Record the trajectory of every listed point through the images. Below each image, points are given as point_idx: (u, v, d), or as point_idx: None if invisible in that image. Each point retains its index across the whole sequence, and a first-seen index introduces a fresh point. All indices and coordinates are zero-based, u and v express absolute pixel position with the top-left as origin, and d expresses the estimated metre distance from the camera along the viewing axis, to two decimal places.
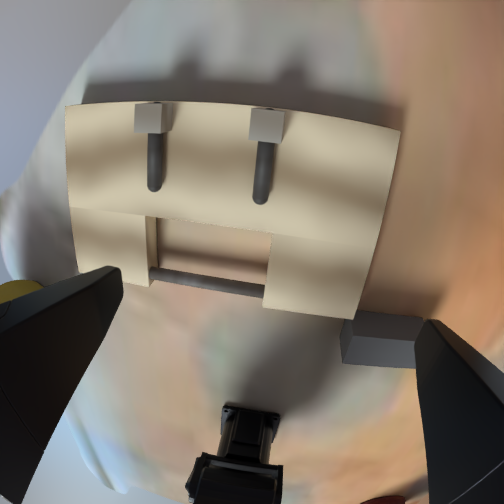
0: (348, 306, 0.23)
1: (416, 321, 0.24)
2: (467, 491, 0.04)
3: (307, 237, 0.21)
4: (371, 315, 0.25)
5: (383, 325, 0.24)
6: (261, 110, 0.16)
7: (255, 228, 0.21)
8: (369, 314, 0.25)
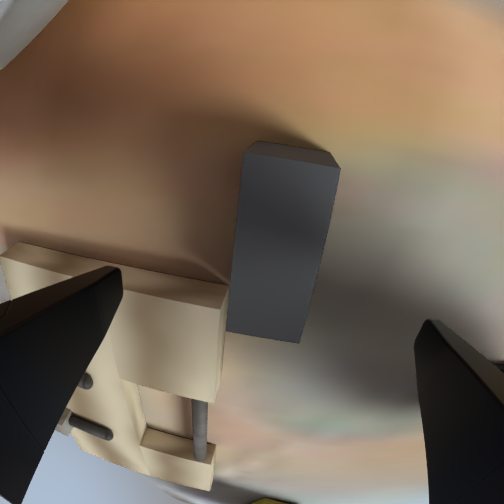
0: (195, 316, 0.14)
1: None
2: (467, 491, 0.04)
3: (112, 352, 0.17)
4: None
5: None
6: None
7: (120, 388, 0.18)
8: None
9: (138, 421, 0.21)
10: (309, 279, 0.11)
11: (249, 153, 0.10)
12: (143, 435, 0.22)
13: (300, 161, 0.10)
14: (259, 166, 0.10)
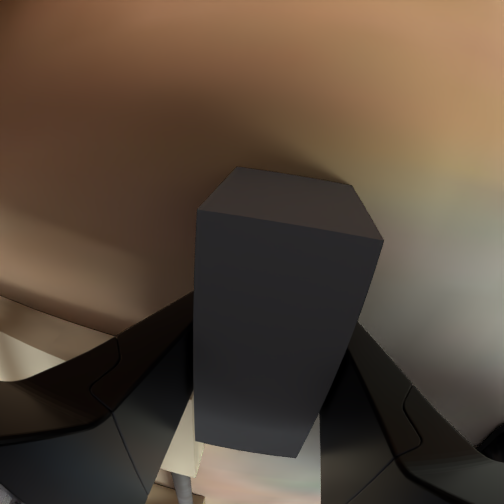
0: None
1: None
2: None
3: None
4: None
5: None
6: None
7: None
8: None
9: None
10: (314, 399, 0.07)
11: (208, 209, 0.05)
12: None
13: (307, 226, 0.05)
14: (227, 235, 0.05)
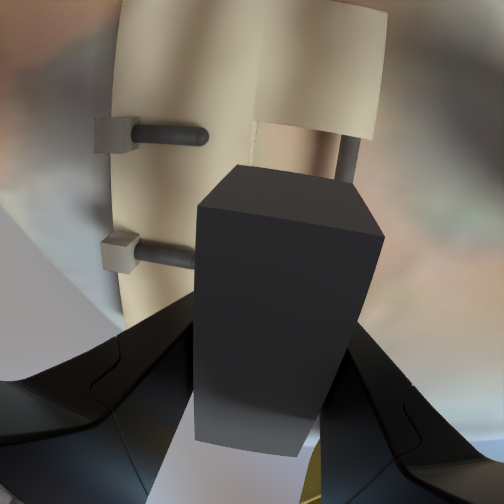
0: (365, 18, 0.12)
1: None
2: None
3: (256, 76, 0.14)
4: None
5: None
6: (95, 142, 0.15)
7: (247, 142, 0.16)
8: None
9: None
10: (314, 398, 0.07)
11: (208, 205, 0.05)
12: None
13: (308, 222, 0.05)
14: (227, 231, 0.05)
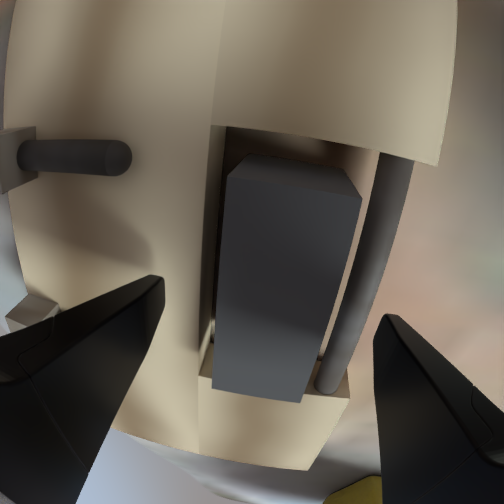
0: None
1: None
2: (416, 500, 0.04)
3: (218, 38, 0.07)
4: None
5: None
6: None
7: (201, 165, 0.08)
8: None
9: (205, 309, 0.11)
10: (314, 337, 0.09)
11: (235, 176, 0.07)
12: (205, 355, 0.13)
13: (306, 188, 0.07)
14: (249, 195, 0.07)
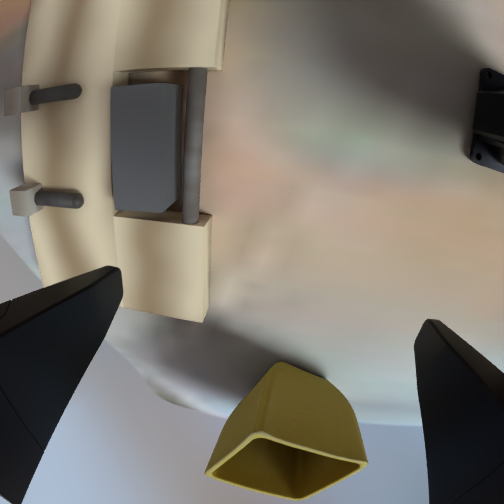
0: None
1: None
2: (468, 491, 0.04)
3: (115, 34, 0.14)
4: None
5: None
6: (4, 107, 0.15)
7: (109, 89, 0.16)
8: None
9: None
10: (156, 158, 0.16)
11: (113, 87, 0.14)
12: None
13: (139, 84, 0.14)
14: (118, 92, 0.14)
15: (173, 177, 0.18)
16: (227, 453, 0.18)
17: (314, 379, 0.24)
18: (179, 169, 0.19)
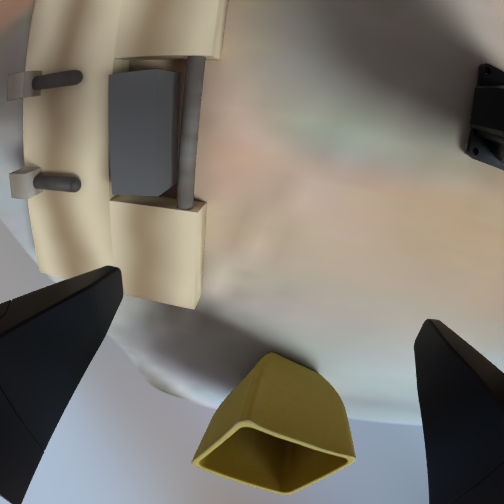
0: None
1: None
2: (468, 491, 0.04)
3: (117, 23, 0.14)
4: None
5: None
6: (7, 92, 0.15)
7: None
8: None
9: None
10: (152, 142, 0.16)
11: (111, 74, 0.14)
12: None
13: (136, 71, 0.14)
14: (116, 79, 0.14)
15: (170, 162, 0.18)
16: (214, 442, 0.18)
17: (305, 371, 0.24)
18: (176, 155, 0.19)
